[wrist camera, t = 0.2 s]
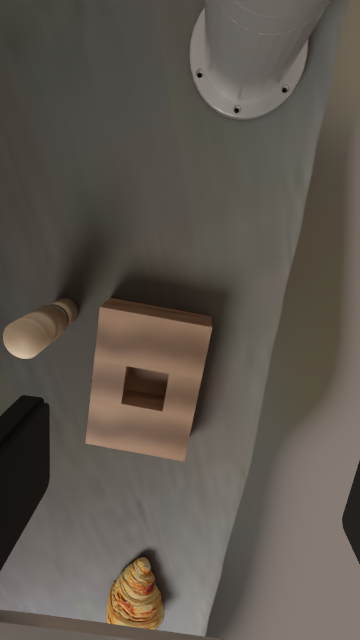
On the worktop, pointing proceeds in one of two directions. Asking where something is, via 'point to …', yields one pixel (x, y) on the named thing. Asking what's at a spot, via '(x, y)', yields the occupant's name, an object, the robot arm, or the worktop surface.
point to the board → (146, 377)
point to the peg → (39, 328)
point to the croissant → (135, 598)
